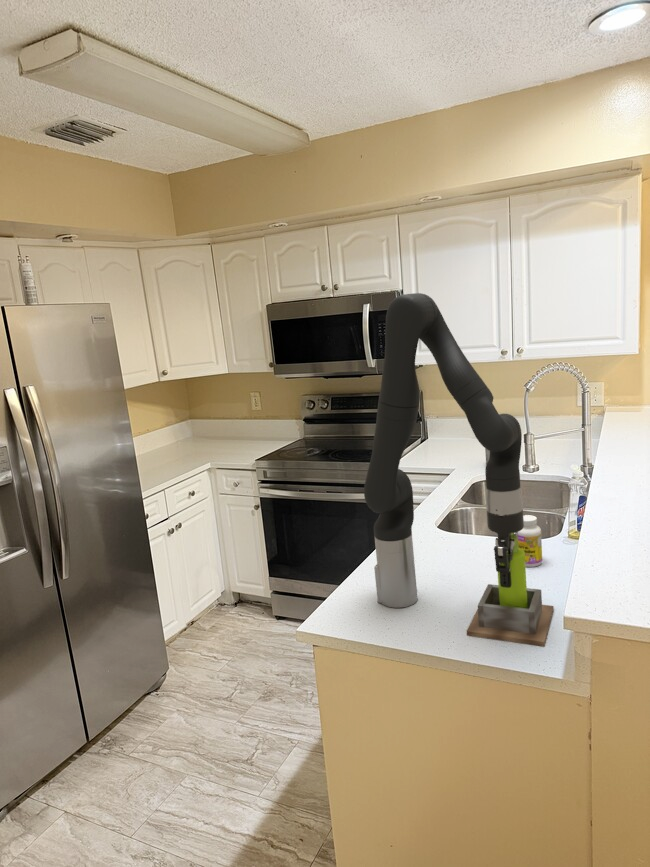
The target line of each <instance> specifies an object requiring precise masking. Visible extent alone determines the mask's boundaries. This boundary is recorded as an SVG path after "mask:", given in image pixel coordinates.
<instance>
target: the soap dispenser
mask: <svg viewBox="0 0 650 867" xmlns="http://www.w3.org/2000/svg"><path fill="white" fill-rule="evenodd" d="M511 539H515V547H514V556H513V560H512V561H511V587H510V588H507V587H501V585H500V572H497V580H498V581H497V582H498V583H497V585H499V600H500V606H509V607H517V608H525V609H528V604H527V588H528V587H527V571H526V566H525V552H524V551H523V550H522V549H519V548H518V537H517V536H515V535H514V534H513V533H511ZM508 556H510V554H508ZM502 565H504V566H505V563H502Z"/></svg>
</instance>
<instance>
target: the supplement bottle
mask: <svg viewBox="0 0 650 867" xmlns="http://www.w3.org/2000/svg"><path fill="white" fill-rule="evenodd" d="M523 520H524V527H523V529H522V530H521V531H519V532H518V548H519V549H522V550H523V551H524V552H525V568H534V567H538V566H540V565H542V562H543V546H542V544H543V543H542V529H541V527H540V526H539V525H537V523H538V518H537V517H536V516H534V515H531V514H530V515H529V514H525V515H524V514H523Z"/></svg>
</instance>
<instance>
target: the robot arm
mask: <svg viewBox="0 0 650 867" xmlns="http://www.w3.org/2000/svg"><path fill="white" fill-rule="evenodd" d="M384 333H385V337H384V342H385V344H384V359H383V366H382V375H381V382H380V384H381V385H380V389H379V396H378V402H377V411H376V422H375V429H374V437H373V444H372V452H371V456H370V461H369V465H368V468H367V474H366V478H365V481H364V487H363V495H364V496H363V497H364V500H365V503H366V506H367V507H368V508H369V509H370V510H371V511H372V512H374V513H376V514H379V515H378V517H377V519H376V521H375V522H374V525H373V537H374V544H375V554H376V555H375V556H376V564H375V566H374V577H375V578H374V579H375V589H376V596H377V597H376V598H377V603H379V604H383V605H384V606H385V607H389V608H397V609H398V608H406V607H411V606H412V605H414V604H415V603H416V602H417V601H418V589H417V587H418V586H417V577H416V575H417V574H416V567H415V566H416V565H415V554H414V542H413V541H414V540H413V531H412V530H413V528H412V527H413V524H414V520H415V517H414V516H415V514H414V513H415V510H414V491H413V485H412V482H411V480H410V478H409V476H408V475H407V473H406V472H405V471H404V470H403V469H402V470H401V469H400V468H399V467H400V462H401V458H402V456H403V454H404V451H405V450H406V448H407V445H408V443H409V442H410V439H411V438H412V435H413V433H414V430H415V427H416V426H417V420H418V416H419V415H418V414H419V408H420V402H421V400H420V398H421V394H420V393H421V392H420V391H421V390H420V386H419V381H418V376H417V370H416V357H417V350H418V344H419V341H421V342H422V343H423V345H425V346H426V347H427V349H428V351H430V354H431V355H432V356H433V359H434V360H435V363H436V365H437V368H438V370H439V373H440V376H441V378H442V381H443V383H444V385H445V388H446V389H447V390H448V392H449V394H450V395H451V396H452V398H453V399H454V400H455V402H456V404H458V406H459V407H460V409H461V410H462V411H463V413H464V414H465V416H466V419H467V422H468V424H469V426H470V428H471V429H472V430H471V431H472V433H473V435H474V436H475V438H476V439H477V441H478V442H479V443H480V445H481V446H482V447H483V448H484V449H485V448H486V449H487V450H489V451H490V458H489V461H488V462H487V464H486V463H485V469H484V470H485V471H484V472H485V485H486V486H485V488H486V489H485V505H486V506H485V507H486V508H485V509H486V519H487V520H486V521H487V528H488V530H489V531H491V532H493V533H496V534H497V537H495V546H494V547H493V551H494V558H495V559H494V561H495V570H496V572H497V573H498V572H500V585H501V587H507V588H510V587H511V561H512V560H513V556H514V547H515V539H511V533H513V534H514V535H515V536H517V537H518V532H519V531H521V530H522V529H523V527H524V520H523V515H524V504H523V494H522V488H521V473H520V460H521V450H522V442H523V441H522V435H523V434H522V429H521V424H520V423H519V421H518V419H517V418H516V417H515V416H513V415H512V414H509V413H500V414H499V412H498V410H497V409H496V407H495V405H494V403H493V402H494V395H493V393H492V391H491V390H490V388H489V387H488V385H487V384H486V383H485V381H484V380H483V379H482V378H481V376H480V375H479V373H478V372H477V371H476V369H475V368H474V366H473V365H472V364H471V363H470V360H468V358H467V357H466V355H465V353H463V350H462V349H461V347H460V345H459V344H458V342H457V341H456V339H455V337H454V336H453V335H454V334H452V332H451V330H450V328H449V326H448V325H447V323H446V320H445V318H444V316H443V315H442V312H441V311H440V308H439V307H438V305H437V303H436V302H435V301H434V299H433V298H432V297H431V296H429V295H427V294H425V293H421V292H420V293H419V292H418V293H417V292H416V293H406V294H401V295H398V296H397V297H395V298H393V300H392V301H391V302H390V303H389V305H388V307H387V310H386V316H385V332H384ZM508 554H510V556H508ZM502 563H505V566H504V565H502Z"/></svg>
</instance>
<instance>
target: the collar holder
mask: <svg viewBox="0 0 650 867" xmlns="http://www.w3.org/2000/svg"><path fill="white" fill-rule="evenodd" d="M542 598H543V597H542V589H538V588H529V587H527V604H528V609H525V608H517V607H509V606H500V600H499V585H498V584H492V583H488V584H487V585H486V588H485V590H484V592H483V593H482V596H481V597H480V600H479V602H478V604H477V609H476V611H475V613H474V615H473V617H472V619H471V621H470V623H469V625H468V627H467V629H466V636H467V637H468V636H469V637H476V638H483V639H489V640H490V639H491V640H497V641H504V642H511V643H518V644H524V645H525V644H526V645H531V646H538V647H545V646H546V645H545V644H546V641H547V638H548V634H549V630H550V627H551V623H552V618H553V613H554V610H555V608H554V605H550V604H549V605H548V604H543V602H542V601H543V600H542Z"/></svg>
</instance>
